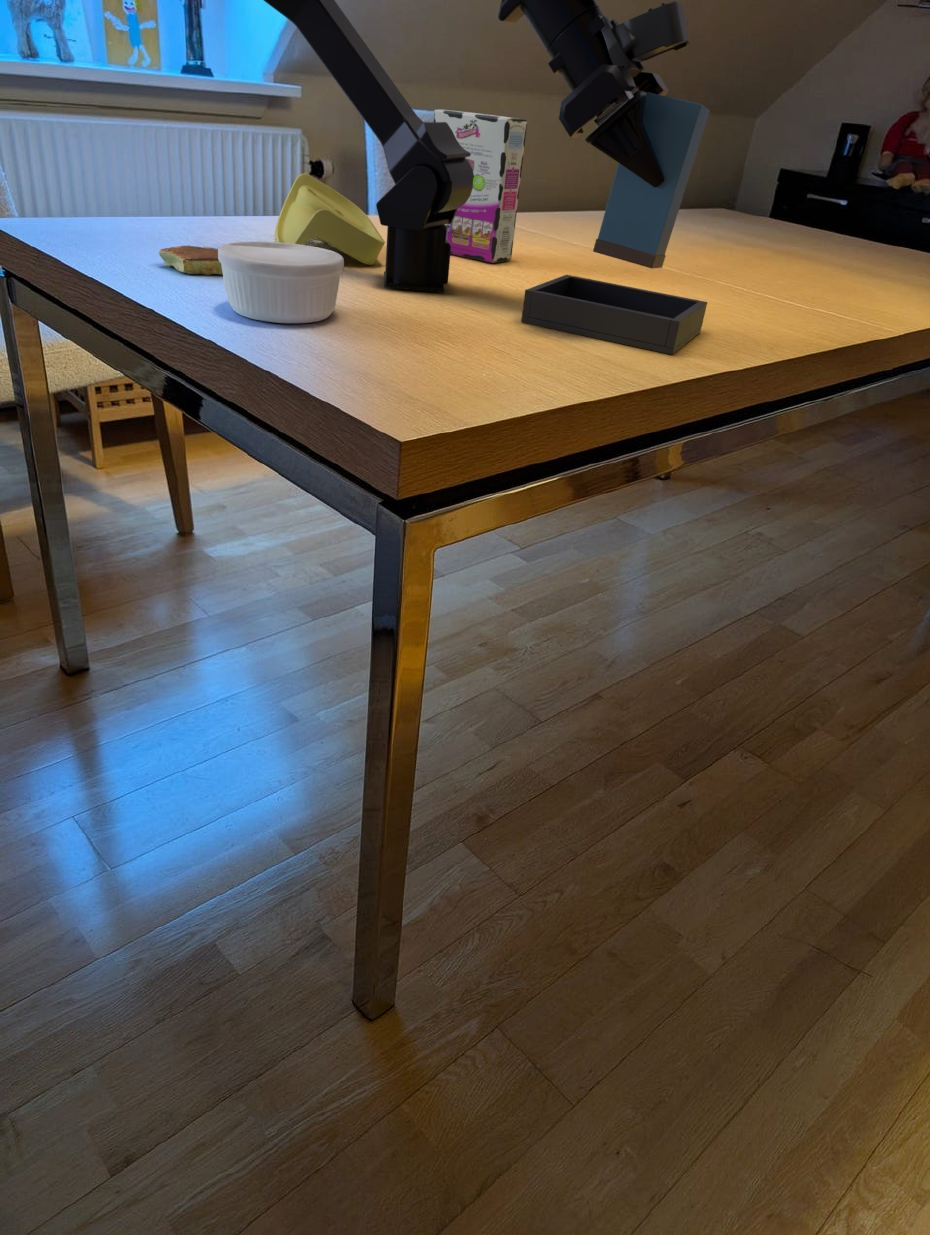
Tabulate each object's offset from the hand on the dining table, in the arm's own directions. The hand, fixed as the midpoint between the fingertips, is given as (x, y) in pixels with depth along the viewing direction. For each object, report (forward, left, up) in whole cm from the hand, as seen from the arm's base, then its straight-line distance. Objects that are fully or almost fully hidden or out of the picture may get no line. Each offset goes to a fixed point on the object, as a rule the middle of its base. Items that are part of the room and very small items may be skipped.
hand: (664, 182), depth 84 cm
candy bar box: (-15, +33, -14) cm, 39 cm away
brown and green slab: (-44, +11, -14) cm, 47 cm away
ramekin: (-35, -5, -14) cm, 38 cm away
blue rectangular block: (-2, 0, -7) cm, 8 cm away
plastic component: (-33, +27, -14) cm, 45 cm away
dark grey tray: (-3, -1, -14) cm, 14 cm away
